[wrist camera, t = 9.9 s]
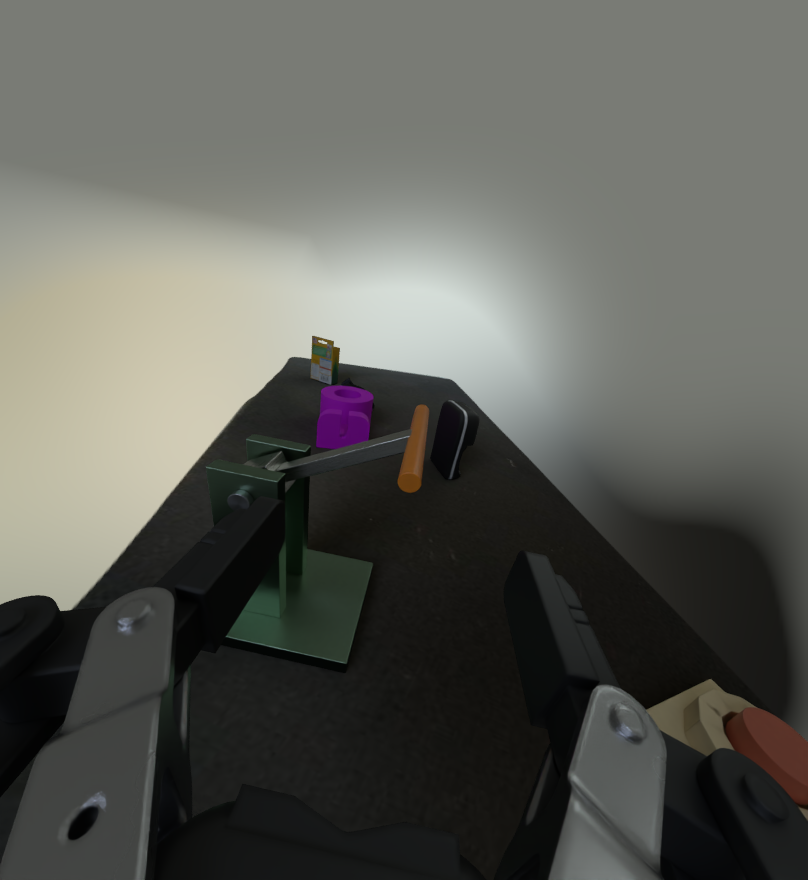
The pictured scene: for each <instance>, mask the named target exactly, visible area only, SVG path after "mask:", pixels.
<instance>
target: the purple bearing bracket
mask: <svg viewBox="0 0 808 880" xmlns="http://www.w3.org/2000/svg"><path fill="white" fill-rule="evenodd" d="M372 404H373V395H372V394H371V393H370V392H368V391H366V390H363V389H360V388H356V387H350V386H329V387H326V388H323V389H322V390H321V408H320V416H319V419H318V423H317V444H316V447H319V448H331V449H338V448H342V447H346V446H350V445H353V444H357V443H361V442H364V441H368V437H369V429H370V420H371V412H372Z"/></svg>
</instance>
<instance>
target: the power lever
mask: <svg viewBox="0 0 808 880" xmlns="http://www.w3.org/2000/svg"><path fill="white" fill-rule="evenodd" d="M428 418H429V409H428V407H427V406H425V405H419V406H417V407H416V409H415V412H414V416H413V420H412V424H411V428H410V429H409V430H406V431H402V432H398V433H394V434H391V435H387V436H383V437H379V438H376V439H372V440H368V441H364V442H361V443H357V444H353V445H350V446H346V447H342V448H338V449H335V450H331V451H327V452H323V453H320V454H316V455H312V456H308V457H305V458H301V459H297V460H293V461H290V462H287V460H286V458H285V456H284V454H283V452H282V451H280V452H276V453H273V454H269V455H265V456H262V457H258V458H255V459H251V460H249V461H247V462H246V463H245V464H244V465H247V466H252V467H257V468H262V469H267V470H271V471H276V472H281V473H285V493H286V492H287V490H288V489H289V488H290V487H291V486H292V484H293V483H294V482H295V481H296V480H297V479H301V478H305V477H309V476H313V475H317V474H321V473H325V472H329V471H333V470H337V469H341V468H345V467H349V466H353V465H357V464H361V463H365V462H369V461H373V460H377V459H381V458H385V457H389V456H393V455H397V454H401V453H404V457H403V461H402V465H401V469H400V473H399V477H398V485H399V487H400V488H401V489H402V490H403V491H405V492H408V493H412V492H415V491H417V490H418V489H419V488H420V487H421V482H422V473H423V464H424V455H425V446H426V437H427V428H428Z"/></svg>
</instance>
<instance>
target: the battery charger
mask: <svg viewBox="0 0 808 880" xmlns="http://www.w3.org/2000/svg"><path fill="white" fill-rule="evenodd" d="M478 426H479V416H478V414H477V413H476V412H475V411H474V410H473V409H471V408H470V407H469V406H467V405H466V404H464V403H462V402H455V401H446V402H444V404H443V406H442V409H441V412H440V416H439V421H438V425H437V430H436V435H435V440H434V445H433V449H432V453H431V457H430V459H431V460H432V462H433V463H434V465H435V466H436V467H437V469H438V470H439V471H440V473H441V474H442V475H443V476H444V477H445V478H446V479H452V478H458V477H460V475H461V473H460V471H459V462H460V459H461V456H462V453H463V451H464V450H465V449H466V447H467V446H471V445H473V444H474V441H475V438H476V435H477V431H478Z"/></svg>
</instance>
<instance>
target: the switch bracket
mask: <svg viewBox="0 0 808 880" xmlns="http://www.w3.org/2000/svg"><path fill="white" fill-rule="evenodd" d="M246 445H247V460H248V461H249V460H251V459H255V458H258V457H262V456H265V455H269V454H273V453H276V452H280V451H282V452H283V454H284V456H285V458H286V460H287V462H290V461H293V460H297V459H301V458H305V457H308V456H310V454H311V446H310V445H306V444H301V443H296V442H291V441H286V440H281V439H276V438H271V437H266V436H261V435H256V434H253V435H252V436H250V437H249V438H247V439H246ZM206 472H207V479H208V486H209V493H210V500H211V507H212V515H213V522H214V526H215V525H216V524H217V523H218V522H219V521H220V520H221V519H222V518H223V517H225V516H227V515H228V514H230V513H232V512H234V511H236V510H238V509H239V508H241V509H246V510H247V509H248V508H249V507H250V506H251V504H252V503H253V502H254V501H255V500H256V499H257V498H258V497H260V496H263V497H268V498H272V499H277V500H282V501H284V503H285V540H284V544H283V546H282V549H281V551H280V553H279V555H278V556H277V558H276V559H275V561H274V563H273V564H272V566H271V567H270V569H269V570H268V572H267V573H266V575H265V577H264V578H263V580H262V581H261V583H260V584H259V586H258V587H257V589H256V591H255V592H254V594H253V595H252V597H251V598H250V600H249V601H248V603H247V605H246V606H245V608H244V609H243V611H242V612H241V614H240V615H239V617H238V619H237V620H236V622H235V623H234V625H233V626H232V628H231V630H230V631H229V633H228V634H227V636H226V637H225V639H224V640H223V642H222V644H221V645H224V646H228V647H232V648H237V649H241V650H246V651H250V652H254V653H259V654H263V655H268V656H272V657H276V658H281V659H285V660H290V661H294V662H298V663H303V664H307V665H312V666H316V667H321V668H325V669H329V670H334V671H338V672H343V673H345V672H346V669H347V665H348V661H349V657H350V653H351V650H352V646H353V642H354V638H355V634H356V630H357V626H358V623H359V619H360V615H361V611H362V607H363V603H364V599H365V596H366V592H367V588H368V584H369V580H370V576H371V572H372V567H373V563H371V562H366V561H361V560H357V559H352V558H347V557H343V556H338V555H333V554H329V553H324V552H319V551H315V550H310V549H307V540H308V512H309V483H310V476H309V477H305V478H301V479H297V480H296V481H295V482H294V483H293V484H292V486H291V487H290V488H289V489H288V490H287V492H286V493H285V473H281V472H276V471H271V470H267V469H262V468H257V467H252V466H247V465H242V464H237V463H233V462H228V461H223V460H218V459H217V460H215V461H214V462H212V463H211V464H209V465H208V466H207V467H206Z"/></svg>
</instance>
